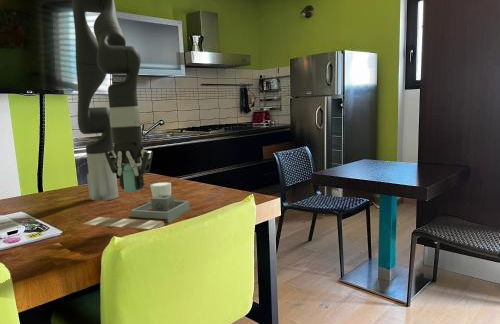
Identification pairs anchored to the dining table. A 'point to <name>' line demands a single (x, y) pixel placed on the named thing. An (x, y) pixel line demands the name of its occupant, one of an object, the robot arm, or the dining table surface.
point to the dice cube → (163, 203)
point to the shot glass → (160, 189)
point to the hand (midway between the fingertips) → (132, 188)
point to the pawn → (129, 179)
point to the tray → (171, 215)
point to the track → (121, 222)
